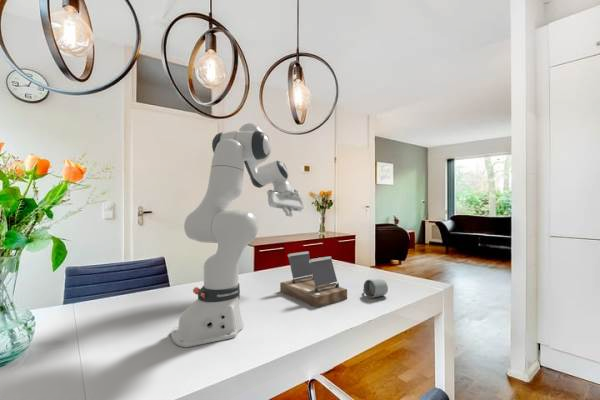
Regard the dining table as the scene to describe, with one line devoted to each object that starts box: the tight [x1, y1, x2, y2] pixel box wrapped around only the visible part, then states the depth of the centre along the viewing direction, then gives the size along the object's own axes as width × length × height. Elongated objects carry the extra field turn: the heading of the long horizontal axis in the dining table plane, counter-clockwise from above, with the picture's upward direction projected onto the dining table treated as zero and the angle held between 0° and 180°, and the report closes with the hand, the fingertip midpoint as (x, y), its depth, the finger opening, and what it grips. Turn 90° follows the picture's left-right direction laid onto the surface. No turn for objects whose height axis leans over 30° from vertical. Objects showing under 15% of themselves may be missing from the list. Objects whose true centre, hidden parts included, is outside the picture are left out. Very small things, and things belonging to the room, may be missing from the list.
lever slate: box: [309, 256, 338, 287], centre depth 130 cm, size 11×2×11 cm, turn 127°
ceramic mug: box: [362, 278, 389, 299], centre depth 133 cm, size 11×8×8 cm
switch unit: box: [279, 275, 348, 308], centre depth 133 cm, size 17×26×6 cm, turn 37°
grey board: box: [287, 250, 312, 279], centre depth 143 cm, size 11×2×11 cm, turn 127°
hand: (289, 215), depth 148 cm, fingers closed
